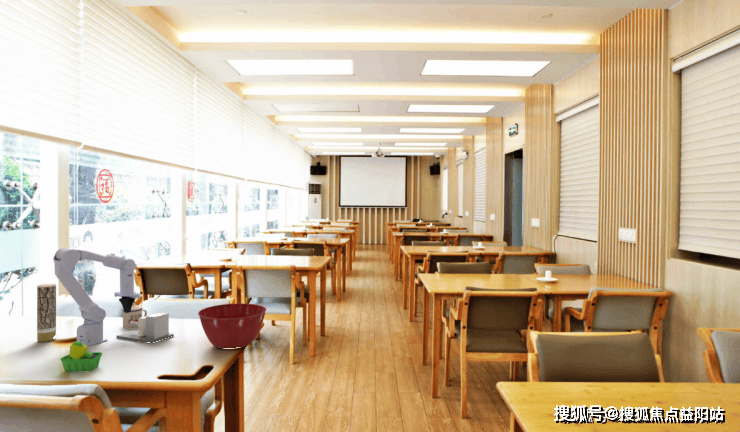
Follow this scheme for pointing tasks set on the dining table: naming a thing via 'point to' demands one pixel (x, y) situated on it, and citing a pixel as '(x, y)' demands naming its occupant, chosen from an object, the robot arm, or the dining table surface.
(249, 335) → the mixing bowl
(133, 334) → the base plate
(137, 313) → the teacup with lid
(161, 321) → the pipe stand
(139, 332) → the collar
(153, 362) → the dining table surface
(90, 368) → the fruit basket
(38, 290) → the paper tube
